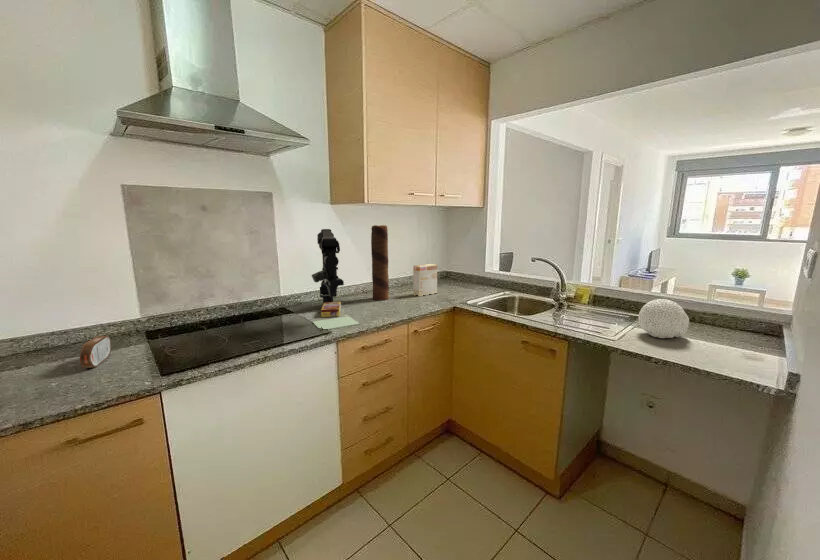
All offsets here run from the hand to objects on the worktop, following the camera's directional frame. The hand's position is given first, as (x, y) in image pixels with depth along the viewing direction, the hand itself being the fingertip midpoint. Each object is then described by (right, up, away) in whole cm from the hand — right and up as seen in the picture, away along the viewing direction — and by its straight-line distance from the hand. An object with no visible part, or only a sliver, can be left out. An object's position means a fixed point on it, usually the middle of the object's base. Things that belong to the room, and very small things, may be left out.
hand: (331, 297), depth 155 cm
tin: (-67, -20, -45) cm, 84 cm away
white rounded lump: (+143, -15, -16) cm, 145 cm away
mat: (+3, -12, -2) cm, 12 cm away
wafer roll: (+19, -4, +47) cm, 51 cm away
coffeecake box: (+47, -1, +60) cm, 76 cm away
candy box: (-2, -8, +8) cm, 11 cm away
